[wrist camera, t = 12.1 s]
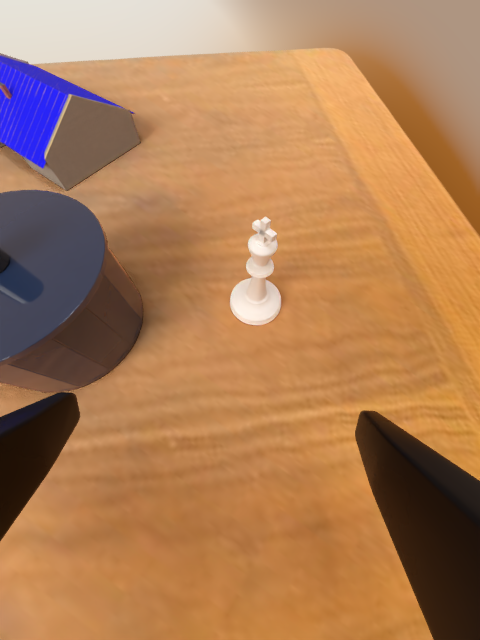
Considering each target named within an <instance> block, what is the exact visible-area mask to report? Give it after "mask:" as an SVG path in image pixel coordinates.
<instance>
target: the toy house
mask: <svg viewBox="0 0 480 640" xmlns="http://www.w3.org/2000/svg"><path fill="white" fill-rule="evenodd" d="M131 114H134V113H133V112H131V111H130V110H127V109H125V108H123V107H120V106H118V105H116V104H114V103H112V102H110V101H108V100H106V99H104V98H101V97H99V96H97V95H95V94H93V93H91V92H89V91H87V90H85V89H83V88H80V87H78V86H76V85H74V84H72V83H70V82H68V81H66V80H64V79H61V78H59V77H57V76H55V75H53V74H51V73H49V72H47V71H45V70H42V69H40V68H38V67H36V66H33V65H30V64H29V63H28V62H26V61H23V60H19V59H16V58H13V57H10V56H7V55H4V54H1V53H0V148H1V147H3V146H5V145H6V146H8V147H9V148H11V149H13V150H14V151H16V152H17V153H19V154H20V155H22V157H23V158H24V159H25V161H26V162H27V163H28V164H29V166H30V167H31V168H32V169H34V170H36V171H37V172H39V173H40V174H42V175H43V176H45V177H46V178H48V179H49V180H51V181H52V182H54V183H55V184H57V185H59V186H60V187H62V188H63V189H65V190H66V191H67V190H69V189H70V188H72V187H73V186H75V185H76V184H78V183H79V182H81V181H82V180H84V179H86V178H87V177H89V176H90V175H92V174H93V173H95V172H96V171H98V170H99V169H101V168H102V167H104V166H105V165H107V164H109V163H110V162H112V161H113V160H115V159H116V158H118V157H119V156H121V155H122V154H124V153H125V152H127V151H128V150H130V149H132V148H133V147H135V146H136V145H138V144H139V143H141V142H140V139H139V136H138V133H137V130H136V127H135V124H134V121H133V118H132V115H131Z"/></svg>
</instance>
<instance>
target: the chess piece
mask: <svg viewBox="0 0 480 640" xmlns="http://www.w3.org/2000/svg"><path fill="white" fill-rule="evenodd" d="M270 223H271V220H270V219H268V218H267V217H264V218H263V219H262V220H261V221H259V220H256V221H254V222H253V224H252V228H253V229H254V230H255V231H257V232H258V233H257V234H255V235H253V236H252V237H251V238H250V239H249V241H248V248H249V251H250V253H251V255H252V256H251V257H250V258H249V259H248V261H247V263H246V269H247V271H248V273H249V274H250V275H251V276H252V277H251V278H248V279H245V280H243V281H241V282H240V283H238V284H237V285H236V286H235V287H234V289H233V291H232V293H231V297H230V307H231V310H232V312H233V314H234V315H235V316H236V317H237V318H238V319H239V320H240V321H242V322H244V323H246V324H250V325H263V324H266V323H268V322H270V321H272V320H273V319H274V318H275V317H276V316H277V315H278V313H279V311H280V308H281V296H280V293H279V291H278V289H277V288H276V286H275V285H274V284H272V283H271V282H269V281H267V280H265V277H268V276H269V275H271V274H272V272H273V270H274V264H273V261H272V259H271V257H272V256H273V255H274V253H275V252H276V250H277V247H278V243H277V240H276V237H277V233H276V232H274V231H273V230H271V229H270Z"/></svg>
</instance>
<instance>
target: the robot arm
mask: <svg viewBox="0 0 480 640" xmlns="http://www.w3.org/2000/svg"><path fill="white" fill-rule="evenodd" d="M79 418H80V412H79V407H78V402H77V398H76V395H75V394H73V393H66V392H60V393H57V394H55V395H52V396H50V397H47V398H45V399H43V400H40V401H38V402H35V403H33V404H31V405H28V406H26V407H23V408H21V409H19V410H16V411H14V412H11V413H9V414H7V415H4V416H2V417H0V541H1V540H2V538H3V537H4V535H5V534H6V533H7V531H8V530H9V528H10V527H11V525H12V524H13V523H14V521H15V520H16V518H17V517H18V515H19V514H20V513H21V511H22V510H23V508H24V507H25V505H26V504H27V503H28V501H29V500H30V498H31V497H32V495H33V494H34V493H35V491H36V490H37V488H38V487H39V485H40V484H41V483H42V481H43V480H44V478H45V477H46V475H47V474H48V472H49V471H50V469H51V468H52V466H53V464H54V463H55V461H56V459H57V458H58V456H59V454H60V452H61V451H62V449H63V447H64V446H65V444H66V442H67V440H68V439H69V437H70V435H71V434H72V432H73V430H74V428H75V427H76V425H77V423H78V421H79ZM355 437H356V441H357V445H358V448H359V451H360V454H361V458H362V461H363V464H364V467H365V471H366V474H367V477H368V480H369V483H370V486H371V489H372V492H373V495H374V497H375V500H376V502H377V505H378V507H379V510H380V512H381V514H382V517H383V519H384V522H385V524H386V526H387V529H388V531H389V534H390V536H391V538H392V541H393V543H394V546H395V548H396V550H397V553H398V555H399V558H400V560H401V562H402V565H403V567H404V570H405V572H406V574H407V577H408V579H409V582H410V584H411V586H412V589H413V591H414V594H415V596H416V598H417V601H418V603H419V606H420V608H421V610H422V613H423V615H424V618H425V620H426V622H427V625H428V627H429V630H430V632H431V634H432V637H433V639H434V640H480V481H479V480H477V479H476V478H474V477H473V476H471V475H470V474H469V473H467V472H466V471H464V470H463V469H461V468H460V467H458V466H457V465H455V464H454V463H452V462H451V461H449V460H448V459H446V458H445V457H443V456H442V455H440V454H439V453H437V452H436V451H434V450H433V449H431V448H430V447H428V446H427V445H425V444H424V443H422V442H421V441H419V440H418V439H416V438H415V437H413V436H412V435H410V434H409V433H407V432H406V431H404V430H403V429H401V428H400V427H398V426H397V425H395V424H394V423H392V422H391V421H389V420H388V419H386V418H385V417H383V416H382V415H380V414H379V413H377V412H375V411H362V412H361V413H360V415H359V419H358V423H357V427H356V431H355Z"/></svg>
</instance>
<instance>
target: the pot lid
mask: <svg viewBox="0 0 480 640" xmlns="http://www.w3.org/2000/svg"><path fill="white" fill-rule="evenodd" d="M107 259H108V242H107V238H106V234H105V232H104V230H103V227H102V225H101V224H100V222H99V221H98V219H97V218H96V216H95V215H94V214H93V213H92V212H91V211H90V210H89V209H88V208H87V207H86V206H85V205H83V204H82V203H80V202H79V201H77V200H75V199H73V198H71V197H68V196H65V195H62V194H59V193H54V192H49V191H40V190H20V191H10V192H4V193H0V366H3V365H6V364H8V363H11V362H13V361H15V360H17V359H19V358H21V357H24V356H26V355H27V354H29V353H31V352H33V351H34V350H36V349H38V348H39V347H41V346H43V345H44V344H45V343H47V342H48V341H50V340H51V339H53V338H54V337H55V336H57V335H58V334H59V333H60V332H61V331H63V330H64V329H65V328H66V327H67V326H68V325H70V324H71V323H72V322H73V320H74V319H75V318H76V317H77V316H78V315H79V314H80V313H81V312H82V311H83V310H84V308H85V307H86V306H87V304H88V303H89V302H90V300H91V299H92V297H93V296H94V294H95V292H96V291H97V289H98V287H99V285H100V283H101V280H102V278H103V276H104V273H105V269H106V265H107Z"/></svg>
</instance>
